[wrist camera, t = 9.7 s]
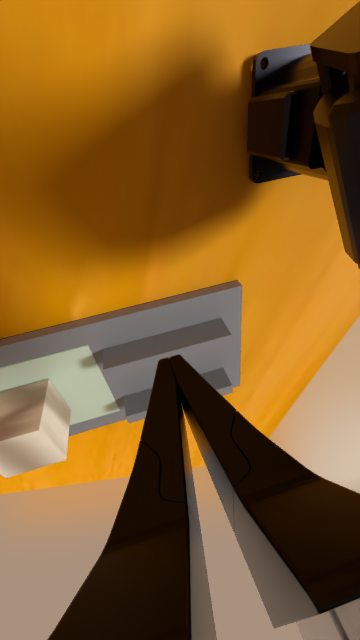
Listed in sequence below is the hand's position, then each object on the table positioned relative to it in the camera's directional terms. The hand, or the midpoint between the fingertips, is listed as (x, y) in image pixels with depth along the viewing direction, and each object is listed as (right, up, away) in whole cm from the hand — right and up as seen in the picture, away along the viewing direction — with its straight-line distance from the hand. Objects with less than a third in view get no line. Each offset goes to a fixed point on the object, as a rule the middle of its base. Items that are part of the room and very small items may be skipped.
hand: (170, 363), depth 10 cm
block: (-13, -6, +14) cm, 21 cm away
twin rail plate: (-5, -3, +16) cm, 17 cm away
